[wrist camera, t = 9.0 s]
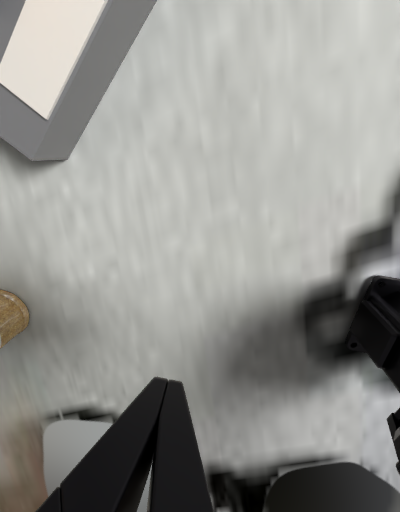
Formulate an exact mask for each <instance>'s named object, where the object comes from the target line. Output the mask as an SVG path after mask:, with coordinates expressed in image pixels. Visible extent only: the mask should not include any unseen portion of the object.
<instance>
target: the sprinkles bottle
mask: <svg viewBox="0 0 400 512" xmlns="http://www.w3.org/2000/svg"><path fill="white" fill-rule="evenodd" d="M28 322H29V312H28V309H27V307H26V306H25V304H24V303H23V302H22V301H21V300H20V299H19V298H18V297H17V296H16V295H14V294H12V293H10V292H7V291H3V290H0V349H1V348H2V347H3V346H4V345H5V344H6V343H8V342H9V341H10V340H11V339H12V338H13V337H14V336H16V335H17V334H19V333H20V332H22V331H23V330H24V329H25V328H26V327H27V326H28Z"/></svg>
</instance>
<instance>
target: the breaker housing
mask: <svg viewBox="0 0 400 512" xmlns="http://www.w3.org/2000/svg"><path fill="white" fill-rule="evenodd" d="M156 1H157V0H0V137H1V138H2V139H4V140H5V141H6V142H8V143H9V144H10V145H12V146H13V147H14V148H16V149H17V150H18V151H19V152H21V153H22V154H23V155H25V156H26V157H27V158H29V159H30V160H31V161H43V160H68V158H69V156H70V154H71V152H72V151H73V149H74V147H75V145H76V144H77V142H78V140H79V138H80V136H81V135H82V133H83V131H84V129H85V127H86V126H87V124H88V122H89V120H90V118H91V117H92V115H93V113H94V111H95V110H96V108H97V106H98V104H99V102H100V101H101V99H102V97H103V95H104V93H105V92H106V90H107V88H108V86H109V85H110V83H111V81H112V79H113V77H114V76H115V74H116V72H117V70H118V68H119V67H120V65H121V63H122V61H123V60H124V58H125V56H126V54H127V52H128V51H129V49H130V47H131V45H132V43H133V42H134V40H135V38H136V36H137V35H138V33H139V31H140V29H141V27H142V26H143V24H144V22H145V20H146V18H147V17H148V15H149V13H150V11H151V10H152V8H153V6H154V4H155V2H156Z"/></svg>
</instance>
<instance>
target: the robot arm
mask: <svg viewBox="0 0 400 512" xmlns="http://www.w3.org/2000/svg"><path fill="white" fill-rule="evenodd" d="M381 281H382V283H381V284H380V285H378V283H379V282H381ZM351 343H354V344H351ZM345 344H346V346H347V347H348V348H349V349H350V350H354V351H359V352H365V353H367V354H368V355H369V356H370V358H371V359H372V360H373V362H374V363H375V365H376V366H377V367H378V368H380V369H383V371H384V372H385V374H386V375H387V376H388V378H389V379H390V380H391V382H392V383H393V384H394V386H395V387H396V389H397V390H398V391H399V393H400V279H397V278H391V277H385V276H376V277H375V278H373V280H372V281H371V284H370V286H369V288H368V291H367V293H366V295H365V297H364V300H363V301H362V302H361V304H360V306H359V309H358V311H357V313H356V315H355V318H354V320H353V322H352V325H351V327H350V332H349V334H348V336H347V338H346V341H345ZM387 422H388V425H389V429H390V432H391V436H392V439H393V443H394V446H395V450H396V454H397V457H398V460H399V461H398V462H397V463H396V468H397V471H398V473H399V475H400V408H399V409H398V410H397V411H396V412H395V413H392V414H391V415H390V416H389V417H388V418H387ZM152 460H153V462H152ZM151 465H152V470H151V478H150V487H149V497H148V506H147V512H214V510H213V506H212V502H211V498H210V494H209V490H208V486H207V482H206V477H205V473H204V469H203V465H202V461H201V457H200V453H199V449H198V444H197V440H196V436H195V432H194V428H193V424H192V420H191V416H190V411H189V407H188V403H187V399H186V395H185V391H184V387H183V383H182V382H181V381H176V380H169V381H168V380H167V379H165V378H160V377H154V378H153V379H152V380H151V381H150V382H149V384H148V385H147V386H146V387H145V388H144V389H143V390H142V392H141V393H140V394H139V395H138V396H137V397H136V398H135V400H134V401H133V402H132V403H131V404H130V405H129V406H128V407H127V409H126V410H125V411H124V412H123V413H122V414H121V415H120V417H119V418H118V419H117V420H116V421H115V422H114V423H113V425H112V426H111V427H110V428H109V429H108V430H107V431H106V433H105V434H104V435H103V436H102V437H101V438H100V440H98V442H97V443H96V444H95V445H94V446H93V447H92V448H91V450H90V451H89V452H88V453H87V454H86V455H85V457H84V458H83V459H82V460H81V461H80V462H79V463H78V464H77V465H76V467H75V468H74V469H73V470H72V471H71V472H70V473H69V475H68V476H67V477H66V478H65V479H64V480H63V481H62V483H61V484H60V487H57V488H56V489H55V490H54V491H53V493H52V494H51V495H50V496H49V497H48V498H47V499H46V500H45V502H44V503H43V504H42V505H41V506H40V507H39V508H38V509H37V510H36V512H137V508H138V506H139V503H140V500H141V497H142V493H143V490H144V487H145V484H146V481H147V478H148V475H149V471H150V468H151Z"/></svg>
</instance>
